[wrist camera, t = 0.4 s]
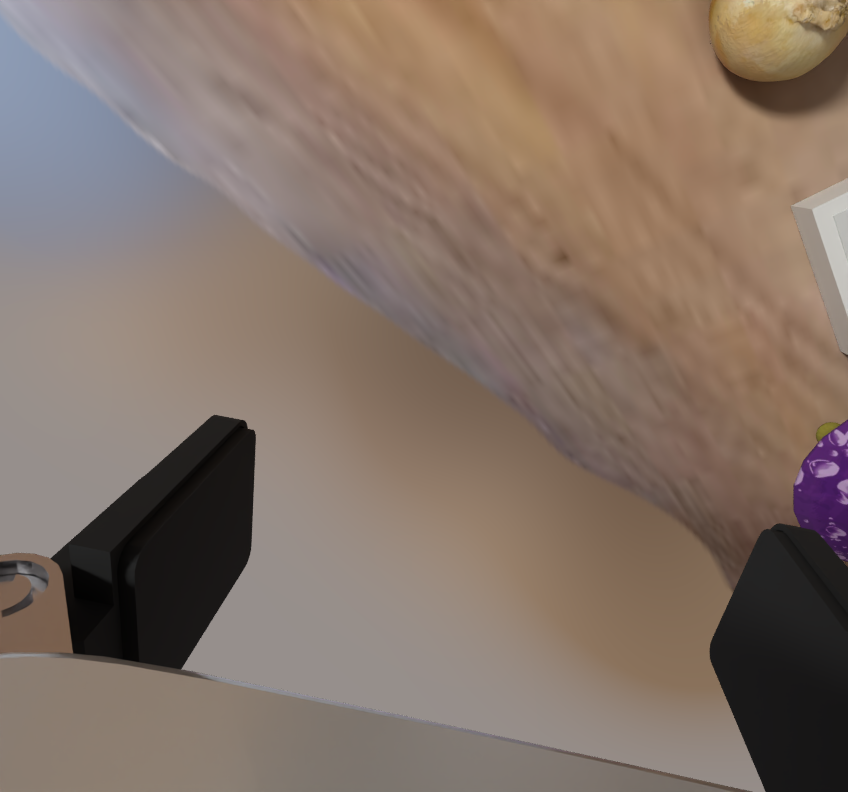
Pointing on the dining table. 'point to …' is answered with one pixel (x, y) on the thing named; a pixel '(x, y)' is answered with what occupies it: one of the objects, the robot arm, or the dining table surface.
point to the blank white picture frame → (828, 250)
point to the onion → (776, 35)
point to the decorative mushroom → (825, 488)
